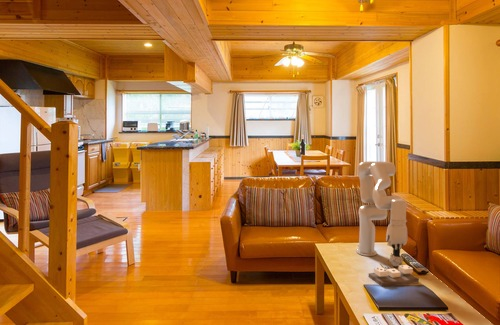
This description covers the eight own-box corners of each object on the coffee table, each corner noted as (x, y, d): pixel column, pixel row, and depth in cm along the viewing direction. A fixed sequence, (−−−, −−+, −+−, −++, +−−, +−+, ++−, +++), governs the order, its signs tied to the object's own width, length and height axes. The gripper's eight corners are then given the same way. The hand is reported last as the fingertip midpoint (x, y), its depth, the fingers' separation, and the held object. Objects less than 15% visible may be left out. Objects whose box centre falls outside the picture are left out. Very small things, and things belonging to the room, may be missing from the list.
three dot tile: (374, 272, 180) (374, 267, 180) (382, 271, 181) (382, 267, 181) (379, 276, 175) (380, 271, 175) (388, 275, 177) (388, 270, 176)
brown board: (368, 277, 184) (368, 273, 184) (403, 273, 189) (403, 269, 189) (382, 286, 172) (382, 283, 172) (418, 282, 177) (418, 278, 177)
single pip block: (386, 273, 182) (386, 269, 182) (394, 272, 183) (394, 268, 183) (392, 277, 177) (392, 272, 177) (400, 276, 178) (400, 271, 178)
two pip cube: (398, 270, 184) (398, 265, 184) (406, 269, 185) (406, 264, 185) (404, 273, 179) (404, 268, 179) (412, 272, 180) (412, 268, 180)
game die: (399, 273, 197) (407, 264, 190) (384, 267, 198) (392, 258, 192) (399, 261, 204) (407, 252, 197) (385, 256, 205) (393, 246, 198)
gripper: (405, 219, 183) (403, 252, 185) (381, 221, 180) (379, 254, 182) (415, 223, 176) (413, 257, 178) (389, 225, 173) (388, 259, 174)
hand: (396, 255), depth 180 cm, fingers closed
